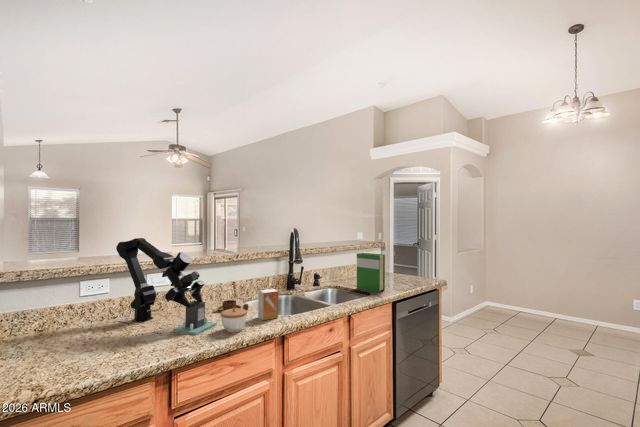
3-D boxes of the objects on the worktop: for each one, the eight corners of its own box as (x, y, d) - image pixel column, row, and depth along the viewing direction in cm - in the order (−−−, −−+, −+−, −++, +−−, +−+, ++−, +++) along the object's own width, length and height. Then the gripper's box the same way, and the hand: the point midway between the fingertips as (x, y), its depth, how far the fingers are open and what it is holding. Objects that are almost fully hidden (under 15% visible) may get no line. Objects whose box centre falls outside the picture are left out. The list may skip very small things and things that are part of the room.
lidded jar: (251, 329, 140) (251, 307, 140) (229, 336, 132) (230, 313, 132) (237, 324, 147) (237, 303, 147) (216, 330, 139) (216, 308, 139)
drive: (185, 326, 139) (185, 303, 140) (193, 323, 144) (194, 300, 144) (196, 328, 137) (197, 305, 137) (204, 325, 142) (205, 302, 142)
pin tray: (173, 331, 137) (173, 323, 137) (194, 322, 149) (194, 314, 149) (195, 335, 133) (196, 326, 133) (216, 325, 145) (216, 317, 145)
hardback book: (384, 290, 217) (384, 254, 217) (379, 292, 211) (379, 255, 211) (362, 286, 228) (362, 252, 228) (356, 288, 222) (356, 253, 223)
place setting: (245, 306, 178) (245, 295, 178) (250, 317, 159) (250, 305, 159) (211, 309, 172) (212, 298, 172) (212, 320, 153) (212, 308, 153)
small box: (263, 320, 152) (263, 292, 152) (257, 317, 157) (258, 290, 157) (278, 317, 156) (278, 290, 156) (273, 314, 161) (273, 288, 162)
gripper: (170, 269, 134) (191, 298, 130) (201, 263, 151) (220, 288, 148) (155, 286, 137) (175, 315, 133) (188, 278, 154) (206, 304, 150)
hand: (196, 305), depth 141 cm, fingers open, 7 cm apart
